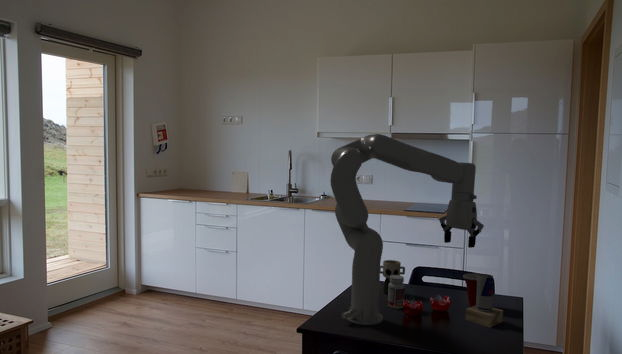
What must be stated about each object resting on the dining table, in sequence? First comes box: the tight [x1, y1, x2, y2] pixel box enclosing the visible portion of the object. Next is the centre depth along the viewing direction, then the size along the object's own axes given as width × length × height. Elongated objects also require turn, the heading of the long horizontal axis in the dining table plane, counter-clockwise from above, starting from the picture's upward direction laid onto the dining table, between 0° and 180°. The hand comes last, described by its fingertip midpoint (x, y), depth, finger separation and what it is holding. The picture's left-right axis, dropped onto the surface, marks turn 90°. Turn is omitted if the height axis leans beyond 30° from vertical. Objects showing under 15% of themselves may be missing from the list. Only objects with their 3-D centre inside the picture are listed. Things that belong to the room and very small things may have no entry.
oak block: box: [465, 305, 504, 328], centre depth 166 cm, size 9×9×4 cm
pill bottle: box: [387, 274, 406, 310], centre depth 179 cm, size 6×6×11 cm
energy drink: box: [476, 273, 495, 312], centre depth 165 cm, size 5×5×12 cm
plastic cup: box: [462, 273, 479, 308], centre depth 182 cm, size 11×11×12 cm
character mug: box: [380, 259, 406, 294], centre depth 196 cm, size 11×7×13 cm, turn 86°
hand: (459, 244), depth 170 cm, fingers open, 9 cm apart
